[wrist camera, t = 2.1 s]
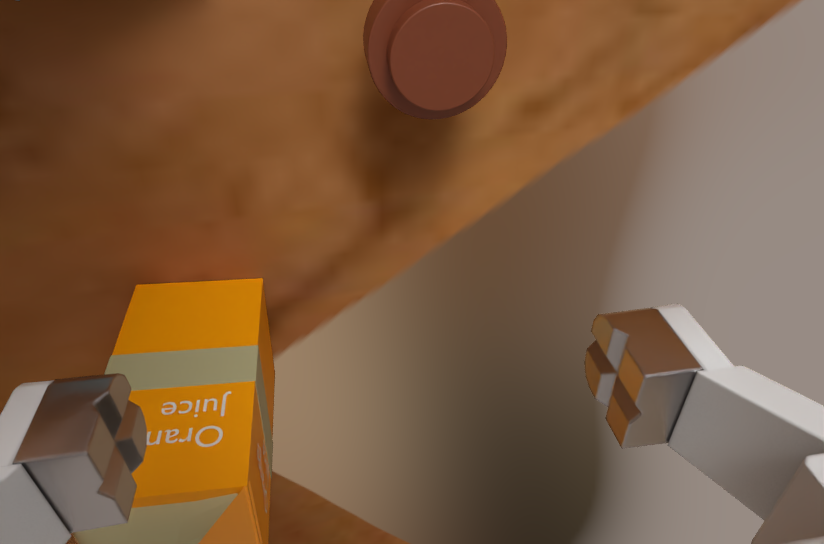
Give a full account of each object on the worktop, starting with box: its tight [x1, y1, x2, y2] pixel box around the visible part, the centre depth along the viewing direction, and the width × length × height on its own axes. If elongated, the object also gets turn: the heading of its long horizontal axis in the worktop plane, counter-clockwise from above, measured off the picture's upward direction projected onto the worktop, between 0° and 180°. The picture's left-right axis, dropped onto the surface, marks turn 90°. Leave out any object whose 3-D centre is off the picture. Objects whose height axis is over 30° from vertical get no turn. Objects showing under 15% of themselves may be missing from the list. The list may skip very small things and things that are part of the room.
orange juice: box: [73, 278, 275, 544], centre depth 30 cm, size 8×9×20 cm
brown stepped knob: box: [363, 0, 507, 119], centre depth 26 cm, size 6×6×6 cm
